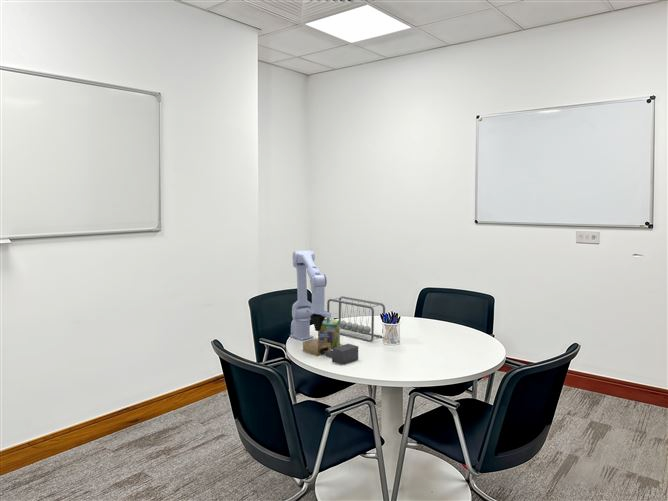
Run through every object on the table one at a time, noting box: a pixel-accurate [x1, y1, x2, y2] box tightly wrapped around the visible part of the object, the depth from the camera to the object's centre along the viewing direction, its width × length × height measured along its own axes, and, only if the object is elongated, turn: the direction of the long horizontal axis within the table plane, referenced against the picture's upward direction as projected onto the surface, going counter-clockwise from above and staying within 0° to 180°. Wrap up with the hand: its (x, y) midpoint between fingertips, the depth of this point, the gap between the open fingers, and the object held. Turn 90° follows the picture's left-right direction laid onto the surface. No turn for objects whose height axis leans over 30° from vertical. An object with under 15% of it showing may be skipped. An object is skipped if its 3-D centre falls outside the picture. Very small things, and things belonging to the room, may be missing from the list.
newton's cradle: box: [326, 295, 386, 343], centre depth 261 cm, size 30×10×18 cm, turn 49°
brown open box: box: [302, 338, 332, 357], centre depth 233 cm, size 10×8×4 cm
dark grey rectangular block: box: [324, 343, 359, 366], centre depth 223 cm, size 14×10×6 cm
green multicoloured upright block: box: [317, 317, 341, 349], centre depth 243 cm, size 9×9×15 cm
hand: (317, 330), depth 232 cm, fingers closed
